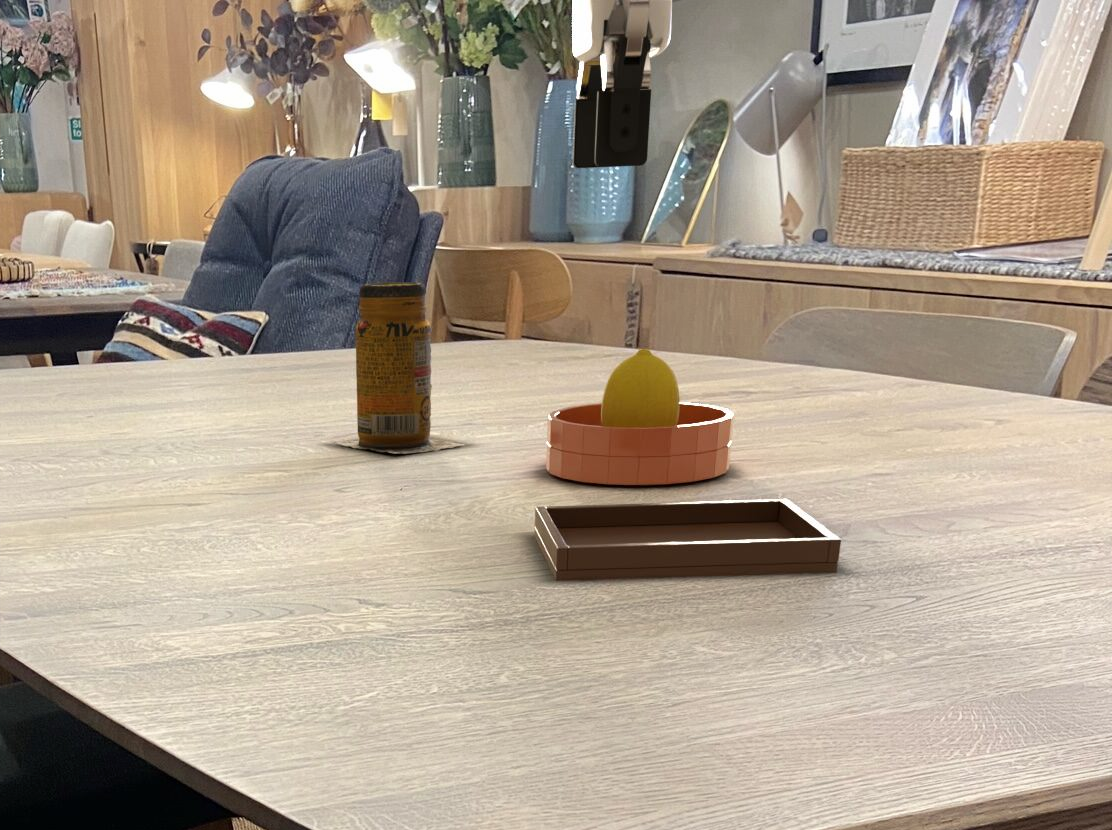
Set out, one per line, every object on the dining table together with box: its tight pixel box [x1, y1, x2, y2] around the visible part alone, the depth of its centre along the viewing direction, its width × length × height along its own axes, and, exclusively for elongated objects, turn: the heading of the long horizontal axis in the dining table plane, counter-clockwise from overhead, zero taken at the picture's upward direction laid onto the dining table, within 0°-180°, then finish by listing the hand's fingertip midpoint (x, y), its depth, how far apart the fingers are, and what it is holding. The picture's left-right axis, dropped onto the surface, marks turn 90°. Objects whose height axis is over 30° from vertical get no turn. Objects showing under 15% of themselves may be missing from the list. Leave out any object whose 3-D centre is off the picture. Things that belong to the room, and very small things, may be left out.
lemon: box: [601, 348, 681, 427], centre depth 103 cm, size 6×6×8 cm
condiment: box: [335, 281, 466, 455], centre depth 116 cm, size 7×8×12 cm
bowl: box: [545, 402, 735, 486], centre depth 104 cm, size 13×13×4 cm
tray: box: [533, 498, 842, 582], centre depth 82 cm, size 15×11×2 cm
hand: (607, 166), depth 94 cm, fingers open, 9 cm apart
